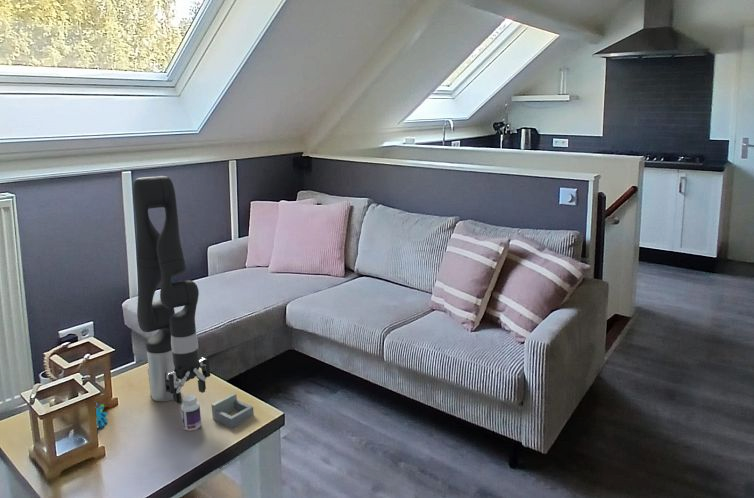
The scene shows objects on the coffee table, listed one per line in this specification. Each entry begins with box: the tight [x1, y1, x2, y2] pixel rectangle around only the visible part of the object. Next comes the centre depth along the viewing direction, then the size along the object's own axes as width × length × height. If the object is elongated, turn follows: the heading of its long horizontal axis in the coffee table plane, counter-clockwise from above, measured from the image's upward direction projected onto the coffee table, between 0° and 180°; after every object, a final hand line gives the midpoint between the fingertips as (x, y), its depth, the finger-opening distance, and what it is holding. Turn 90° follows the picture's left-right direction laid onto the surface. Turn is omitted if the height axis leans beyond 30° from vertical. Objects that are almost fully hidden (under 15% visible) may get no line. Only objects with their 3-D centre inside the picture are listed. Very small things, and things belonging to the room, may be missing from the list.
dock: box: [211, 392, 255, 428], centre depth 192 cm, size 9×9×5 cm
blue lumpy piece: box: [95, 402, 109, 429], centre depth 189 cm, size 11×6×10 cm
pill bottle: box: [180, 394, 202, 432], centre depth 187 cm, size 5×5×10 cm
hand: (190, 397), depth 185 cm, fingers open, 8 cm apart
